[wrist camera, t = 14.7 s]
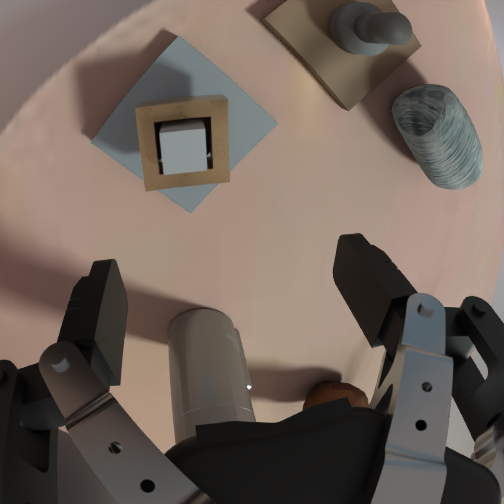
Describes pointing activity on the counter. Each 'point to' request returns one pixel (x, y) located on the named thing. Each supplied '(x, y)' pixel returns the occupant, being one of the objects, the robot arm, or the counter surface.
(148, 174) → the square wooden frame
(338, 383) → the butternut squash
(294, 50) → the stand
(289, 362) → the counter surface
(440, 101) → the teal-grey streaked oval part
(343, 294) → the robot arm
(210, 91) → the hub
